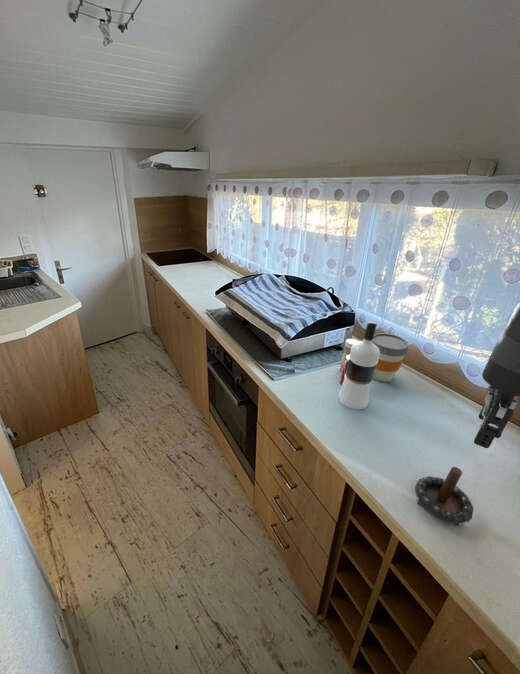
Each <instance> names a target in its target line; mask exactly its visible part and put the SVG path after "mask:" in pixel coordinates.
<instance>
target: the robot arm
mask: <svg viewBox="0 0 520 674" xmlns="http://www.w3.org/2000/svg"><path fill="white" fill-rule="evenodd" d="M481 376H482V377H481V378H482V379H483V380H484V382H485V383H486V384H488V387H487V390H486V392H485V395H484V404H483V405H482V408H481V410H480V411H479V414H478V419H479V420H482V422H481V423H480V424H479V429H478V431H477V433H476V434H475V437H474V439H473V443H474V445H476V446H479V447H481V448H483V449H489V448H490V447H491V445H492V443H493V441H494V439H498V440H499V439H500V438H501V437H502V433H503V432H504V430H505V428H506V426H507V424H508V423H509V420H510V419H511V417H512V416H513V415H514V409H516V407H517V405H518V402H519V401H518V399H517V398H518V397H520V302H519V303H518V304H516V306H515V307H514V310H513V311H512V313H511V316H510V317H509V319H508V322H507V324H506V325H505V328H504V330H503V332H502V334H501V335H500V337H499V338H498V339H497V340H496V343H495V345H494V347H493V350H491V354H490V355H489V358H488V360H487V362H486V364H485V367H484V369H483V371H482V373H481Z"/></svg>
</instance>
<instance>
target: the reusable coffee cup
mask: <svg viewBox="0 0 520 674" xmlns="http://www.w3.org/2000/svg"><path fill="white" fill-rule="evenodd" d="M372 343H373V344H375V345H376V346H377V347H378V348H379V350H380V356H379V359H378V363H377V364H376V368H375V372H374V375H373V378H374V379H373V380H375V379H376V380H375V381H378V380H380V381H379V382H382V381H388V382H391V381H393V379H394V377H395V375H396V373H397V372H398V371H399V370H400V368H401V366H402V364H403V362H404V360H405V356H406V355H407V354H408V350H409V342H408V341H407V340H406V339H405V338H403V337H401V336H399V335H395V334H393V333H383V332H382V333H375V334H374V337H373V342H372Z"/></svg>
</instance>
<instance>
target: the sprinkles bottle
mask: <svg viewBox="0 0 520 674" xmlns="http://www.w3.org/2000/svg"><path fill="white" fill-rule="evenodd" d="M356 342H359V341H358V340H357V339H354V338H347V339H346V340H345V343H344V349H343V353H342V358H341V363H340V368H339V371H340V372H341V373H342V370H343V365H344V361H345V358H346V357H347V355H350V350H351V347H352V345H353V344H355V343H356Z"/></svg>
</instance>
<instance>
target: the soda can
mask: <svg viewBox="0 0 520 674" xmlns="http://www.w3.org/2000/svg"><path fill="white" fill-rule="evenodd" d="M348 362H349V355H347V357H346V358H345V361H344V365H343V370H342V372H341V375H340V379H339V386H341V387H343V384H344V379H345V374H346V371H347V366H348Z"/></svg>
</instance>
